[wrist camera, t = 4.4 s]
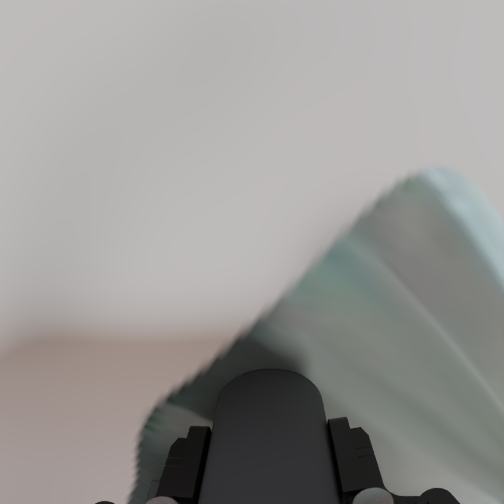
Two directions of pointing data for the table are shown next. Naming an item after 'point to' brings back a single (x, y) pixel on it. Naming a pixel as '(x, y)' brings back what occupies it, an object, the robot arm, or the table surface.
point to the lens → (270, 443)
